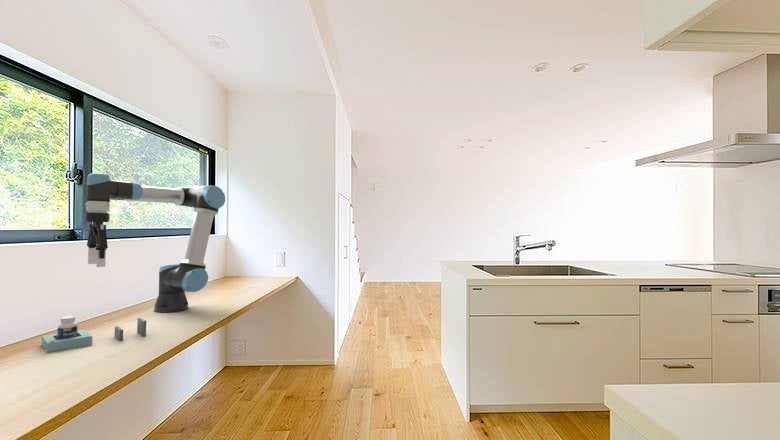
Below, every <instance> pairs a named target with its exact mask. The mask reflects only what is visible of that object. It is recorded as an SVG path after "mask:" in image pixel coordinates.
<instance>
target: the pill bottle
mask: <svg viewBox="0 0 780 440" xmlns="http://www.w3.org/2000/svg"><path fill="white" fill-rule="evenodd" d="M77 331H78V323H77V322H76V316H75V315H67V316H62V317H60V323H59V324H58V325H57V334H58V335H57V340H61V339H67V338H73V337H77Z"/></svg>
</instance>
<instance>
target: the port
mask: <svg viewBox="0 0 780 440" xmlns="http://www.w3.org/2000/svg"><path fill="white" fill-rule="evenodd" d="M57 335H58V333H54V334H46V335H41V346H42V347H43V348H44V351H46V353H53V352H58V351H62V350H68V349H73V348H79V347H84V346H90V345H92V344H93V335H92V334H91V333H90V332H88V331H87V330H86V329H80V330H78V329H77V337H73V338H67V339H61V340H57Z"/></svg>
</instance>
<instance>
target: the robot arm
mask: <svg viewBox="0 0 780 440" xmlns="http://www.w3.org/2000/svg"><path fill="white" fill-rule="evenodd" d="M85 185H86V203H84V206H86V207H85V210H86V213H85V222H86V223H89V226H88V227H89V229H88V230H89V231H88V234H87V235H88V236H87V242H86V247H87V248H88V250H87V265H95V267H96V268H105V267H106V262H107V261H106V260H107V259H106V254H107V252H106V251H107V249H108V248H109V246H108V238H107V224H104V223H109V222H110V216H111V215H110V213H109V212H110V211H111V200H112V201H128V202H129V201H130V202H131V201H132V202H146V203H163V204H174V205H175V206H182V207H188V208H192V209H193V211H194V213H195V214H194V217H193V222H192V226H191V231H190V235H189V238H188V239H189V240H188V243H187V248H186V251H185V256H184V259H183V260H181V261H180V262H179V263H172V264H164V265H163V264H162V265H160V267H159V271H158V296H157V298H156V301H155V304H154V306H153V311H154V312H155V313H176V312H180V311H181V312H182V311H186V310H188V309H189V300H188V298H187V296H186V293H187V292H189V293H196V292H199V291H201V290H203V289H204V288H205V286H206V285H207V283H208V280H209V274H208V272H207V271H206V266H207V265H206V264H205V263H204V261H205V257H206V252H207V248H208V243H209V238H210V234H211V229H212V226H213V225H212V224H213V221H214V217H215V216H216V215H217V214H219V209H221V208H222V207H223V206H224V205H225V203H226V194H225V192H224V191H223V189H222V188H221V187H219V186H217V185H196V186H184V187H183V186H177V187H175V188H172V187H160V186H150V185H143V184H141V183H139V182H134V181H122V180H115V179H114V180H113V179H112V177H111V175H110V174H106V173H99V172H98V173H96V172H92V173H89V174H87V179H86V184H85Z"/></svg>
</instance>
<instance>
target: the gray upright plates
mask: <svg viewBox="0 0 780 440" xmlns="http://www.w3.org/2000/svg"><path fill="white" fill-rule="evenodd" d="M136 326H137V327H136V333H137V334H138V336H139V335H140V336H141V337H146V336H147V320H146V319H144V318H142V317H137V325H136ZM114 338H115V339H116V340H118V341H119V342H123V340H124V329H122V327H120V326H118V325H117V326H114Z"/></svg>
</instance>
